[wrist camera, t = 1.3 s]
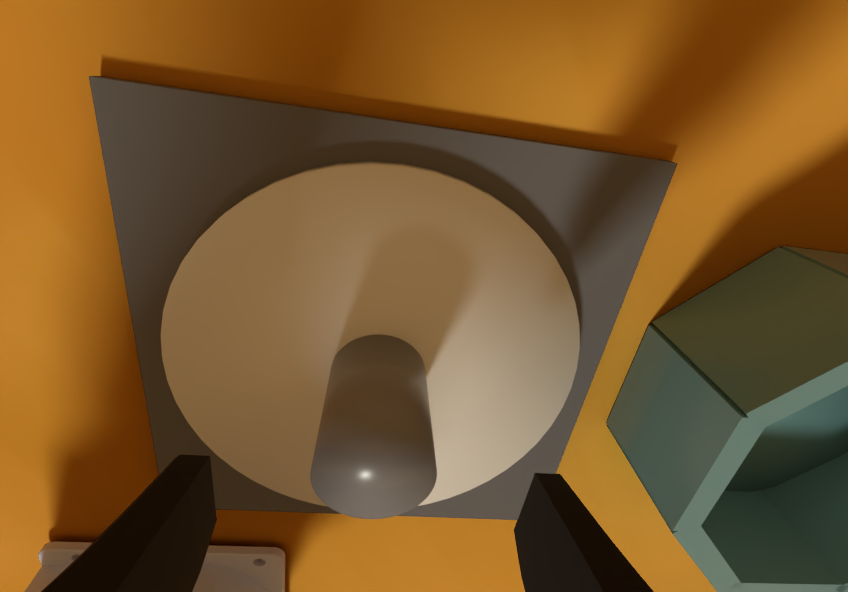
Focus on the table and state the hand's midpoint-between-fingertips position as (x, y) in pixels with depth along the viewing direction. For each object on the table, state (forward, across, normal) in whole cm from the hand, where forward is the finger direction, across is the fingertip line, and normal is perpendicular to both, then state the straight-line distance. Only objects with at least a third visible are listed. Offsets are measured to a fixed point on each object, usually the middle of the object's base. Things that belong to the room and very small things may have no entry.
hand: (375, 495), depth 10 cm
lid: (+5, 0, 0) cm, 5 cm away
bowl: (+6, -14, 0) cm, 15 cm away
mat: (+6, 0, 0) cm, 6 cm away
